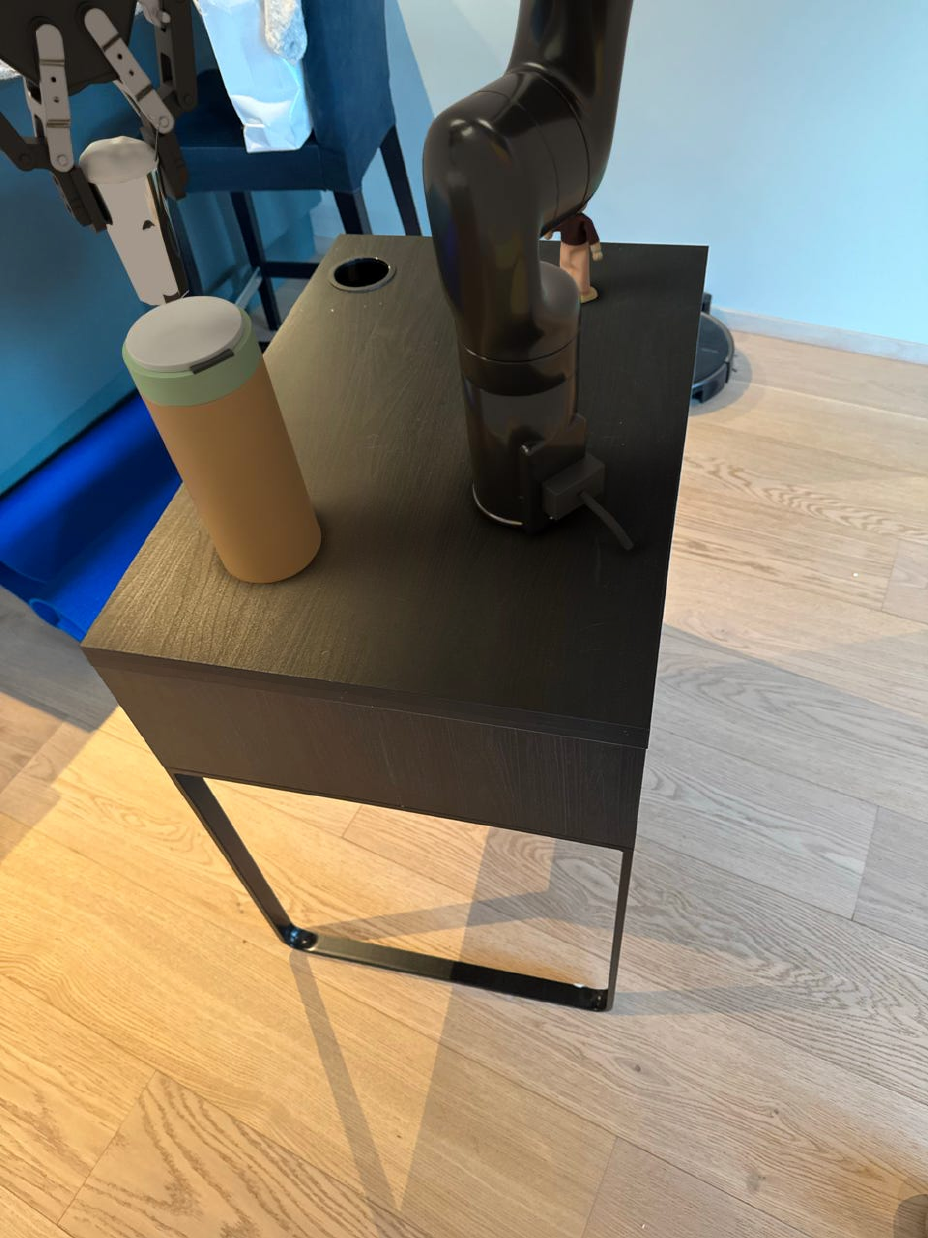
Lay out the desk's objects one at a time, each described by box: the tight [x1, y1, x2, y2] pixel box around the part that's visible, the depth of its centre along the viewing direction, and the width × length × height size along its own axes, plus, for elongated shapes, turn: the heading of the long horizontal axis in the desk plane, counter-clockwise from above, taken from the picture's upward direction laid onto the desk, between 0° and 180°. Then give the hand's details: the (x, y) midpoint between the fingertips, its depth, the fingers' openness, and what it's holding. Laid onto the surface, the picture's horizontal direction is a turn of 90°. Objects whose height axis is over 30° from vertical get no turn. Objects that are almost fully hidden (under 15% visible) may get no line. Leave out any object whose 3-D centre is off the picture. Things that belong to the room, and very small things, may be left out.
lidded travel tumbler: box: [121, 295, 322, 584], centre depth 66 cm, size 9×9×22 cm
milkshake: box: [77, 122, 190, 306], centre depth 51 cm, size 4×5×10 cm
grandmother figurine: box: [543, 202, 604, 304], centre depth 89 cm, size 8×4×13 cm, turn 58°
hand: (137, 209), depth 51 cm, fingers closed on milkshake, 4 cm apart
